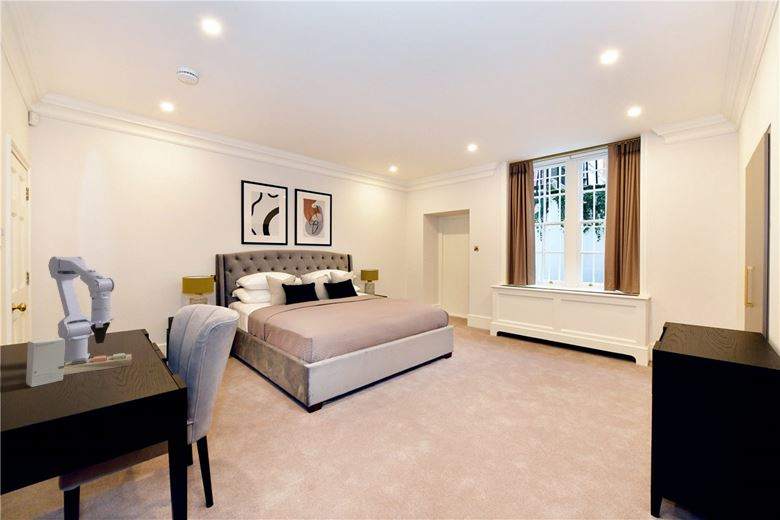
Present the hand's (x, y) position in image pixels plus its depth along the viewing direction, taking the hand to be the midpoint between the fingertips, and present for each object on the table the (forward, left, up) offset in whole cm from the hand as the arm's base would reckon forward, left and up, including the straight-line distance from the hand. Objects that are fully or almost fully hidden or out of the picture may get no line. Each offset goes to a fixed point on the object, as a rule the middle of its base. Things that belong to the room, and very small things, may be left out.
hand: (100, 342), depth 133 cm
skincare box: (+12, -13, -10) cm, 20 cm away
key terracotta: (+2, 0, -8) cm, 8 cm away
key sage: (+2, +6, -8) cm, 10 cm away
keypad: (+2, 0, -9) cm, 10 cm away
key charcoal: (+2, -6, -8) cm, 10 cm away
